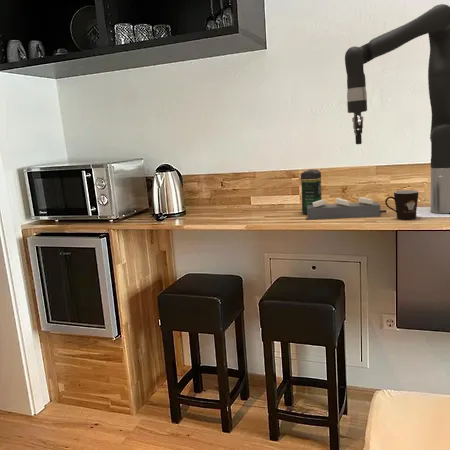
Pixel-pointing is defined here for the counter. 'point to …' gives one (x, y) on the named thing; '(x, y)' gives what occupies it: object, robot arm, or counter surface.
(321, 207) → the power strip
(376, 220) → the counter surface
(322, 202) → the far rocker
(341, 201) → the middle rocker
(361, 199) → the near rocker
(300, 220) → the counter surface
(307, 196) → the coffee jar
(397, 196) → the coffee mug
